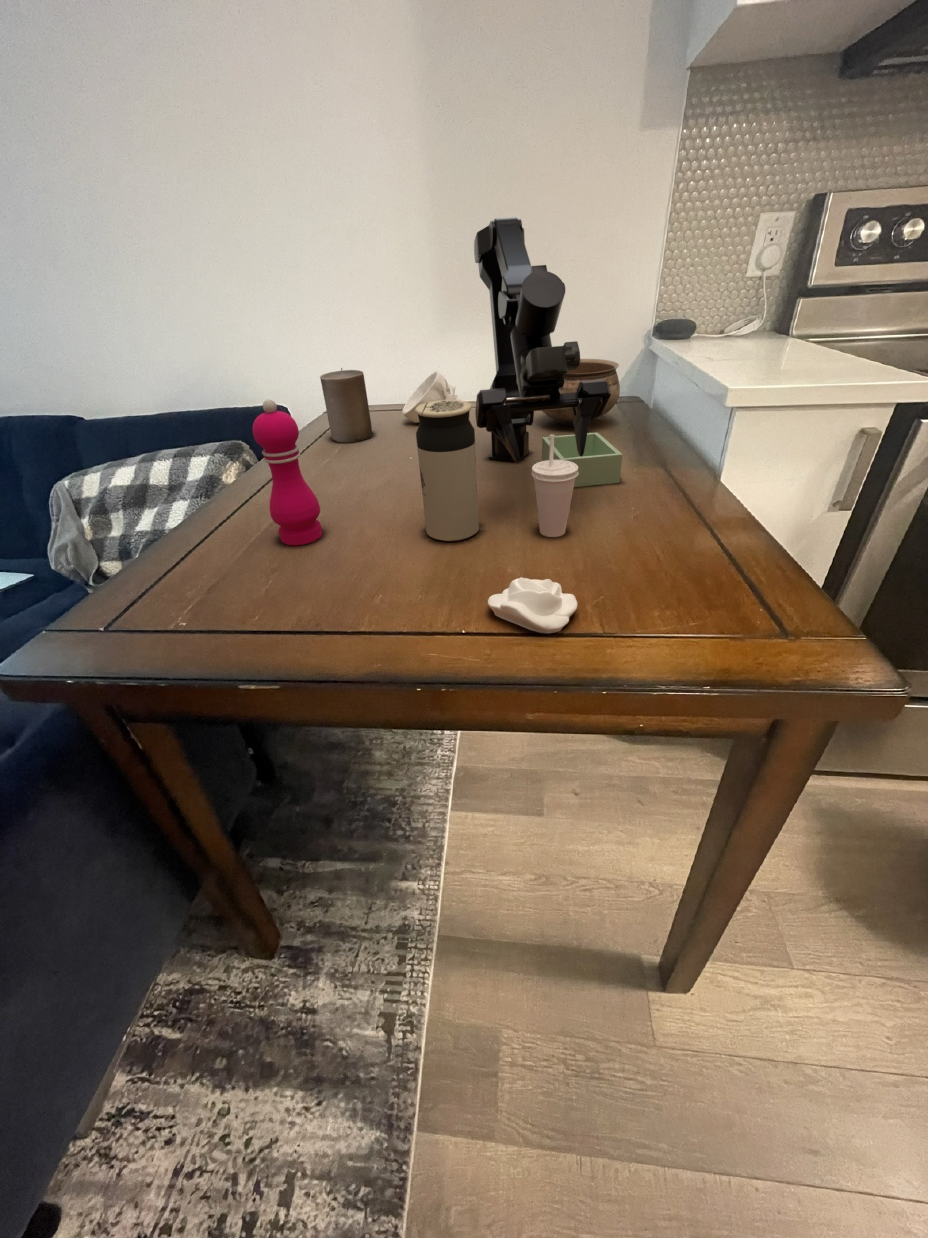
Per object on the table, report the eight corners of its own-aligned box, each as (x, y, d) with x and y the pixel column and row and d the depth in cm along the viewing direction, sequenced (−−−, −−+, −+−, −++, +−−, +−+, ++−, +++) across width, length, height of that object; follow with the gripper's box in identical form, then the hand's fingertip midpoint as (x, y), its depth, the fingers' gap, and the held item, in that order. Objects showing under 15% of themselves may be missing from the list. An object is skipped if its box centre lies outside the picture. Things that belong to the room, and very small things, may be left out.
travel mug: (483, 520, 84) (478, 398, 74) (473, 543, 78) (466, 413, 68) (433, 519, 86) (422, 399, 76) (420, 541, 79) (405, 414, 69)
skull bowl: (475, 415, 132) (445, 371, 125) (430, 451, 135) (398, 410, 128) (467, 405, 140) (439, 363, 133) (425, 439, 143) (395, 400, 137)
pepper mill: (283, 551, 79) (244, 409, 68) (273, 533, 85) (236, 399, 73) (331, 539, 82) (301, 400, 71) (318, 522, 87) (289, 390, 76)
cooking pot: (526, 412, 137) (527, 359, 130) (601, 406, 137) (605, 353, 130) (543, 440, 116) (545, 379, 109) (631, 434, 116) (638, 372, 110)
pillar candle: (378, 430, 131) (368, 362, 122) (365, 442, 123) (353, 371, 114) (340, 431, 132) (328, 364, 124) (324, 443, 125) (310, 372, 116)
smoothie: (527, 524, 82) (527, 430, 74) (568, 520, 82) (574, 426, 75) (535, 543, 77) (537, 443, 69) (579, 539, 77) (586, 439, 69)
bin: (541, 463, 105) (542, 437, 102) (595, 458, 105) (597, 432, 102) (559, 488, 93) (560, 459, 91) (619, 482, 94) (622, 454, 91)
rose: (490, 605, 56) (484, 561, 64) (491, 639, 59) (485, 593, 67) (586, 599, 56) (568, 555, 64) (583, 633, 59) (566, 587, 67)
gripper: (473, 325, 71) (489, 433, 68) (613, 314, 72) (633, 420, 69) (469, 378, 82) (482, 474, 79) (590, 368, 83) (608, 462, 80)
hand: (549, 457), depth 76 cm, fingers open, 9 cm apart
